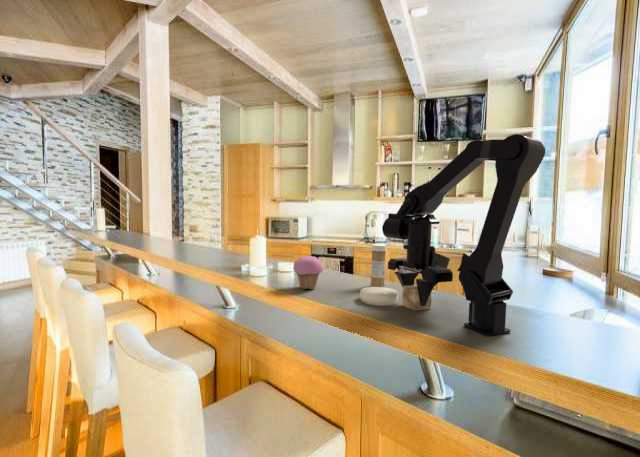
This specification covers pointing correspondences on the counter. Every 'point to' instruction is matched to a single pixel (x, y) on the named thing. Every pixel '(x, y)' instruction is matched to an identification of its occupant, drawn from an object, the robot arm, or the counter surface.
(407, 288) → the beech cube
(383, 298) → the ceramic stand
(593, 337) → the counter surface
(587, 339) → the counter surface
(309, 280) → the cupcake
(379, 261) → the sprinkles bottle
